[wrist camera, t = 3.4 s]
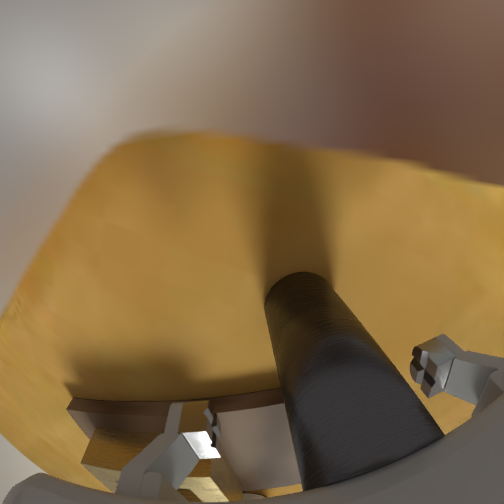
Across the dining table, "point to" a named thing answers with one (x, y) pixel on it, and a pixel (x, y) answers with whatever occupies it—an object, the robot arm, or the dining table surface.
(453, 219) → the dining table surface
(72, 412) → the walnut board
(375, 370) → the steel pin
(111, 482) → the square brass washer
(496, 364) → the robot arm
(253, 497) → the white cup
